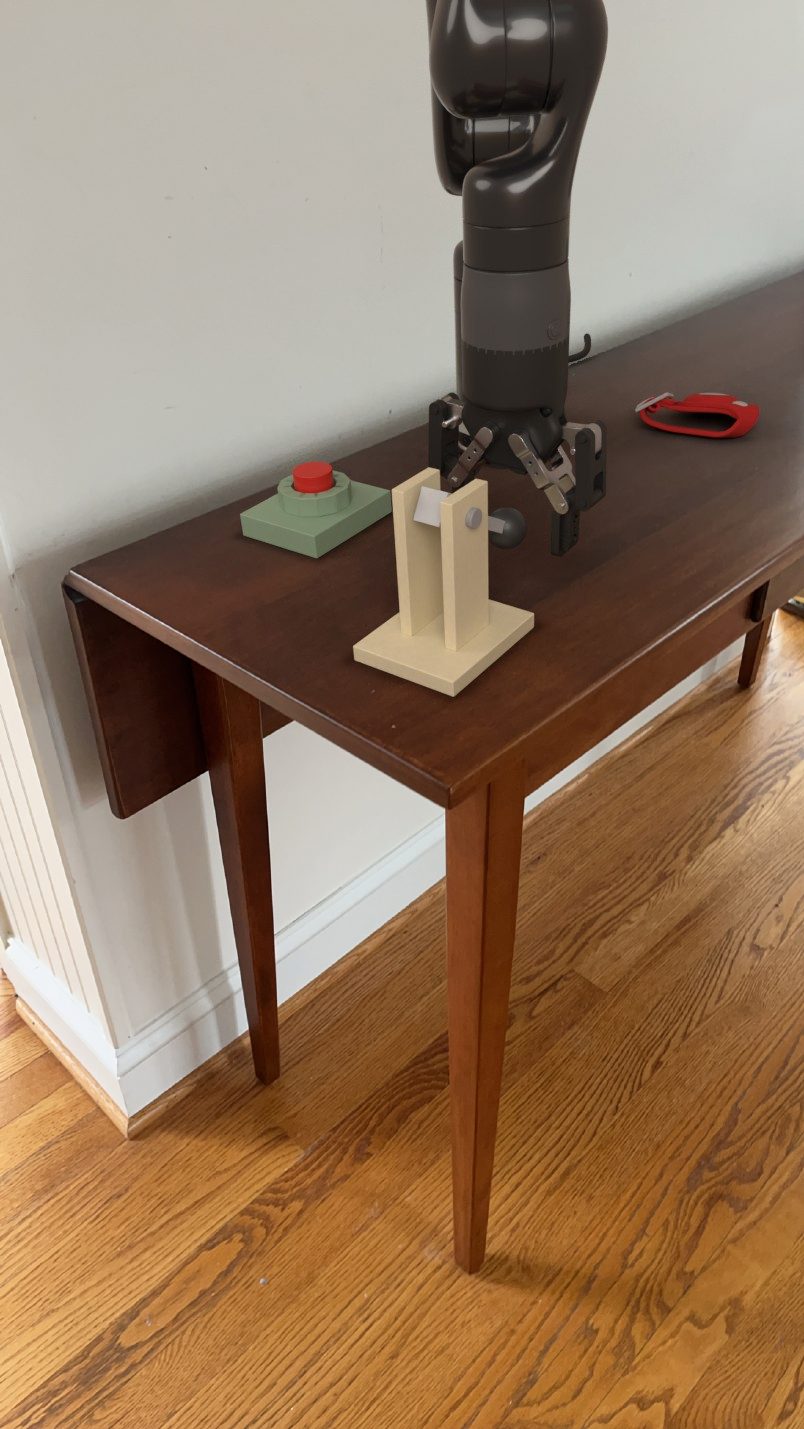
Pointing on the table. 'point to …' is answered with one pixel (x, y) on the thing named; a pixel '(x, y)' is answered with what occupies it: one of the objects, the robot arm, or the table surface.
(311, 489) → the stop button
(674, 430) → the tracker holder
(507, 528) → the press lever
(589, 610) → the table surface
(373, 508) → the button block
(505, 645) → the lever bracket
